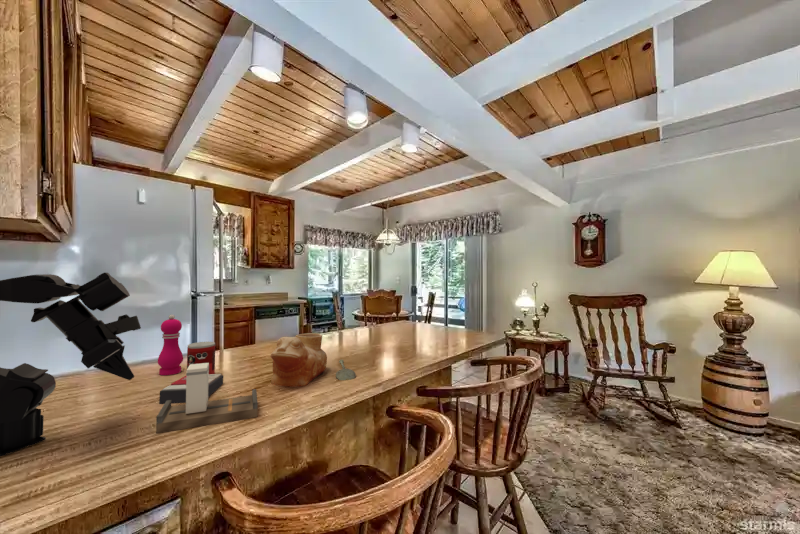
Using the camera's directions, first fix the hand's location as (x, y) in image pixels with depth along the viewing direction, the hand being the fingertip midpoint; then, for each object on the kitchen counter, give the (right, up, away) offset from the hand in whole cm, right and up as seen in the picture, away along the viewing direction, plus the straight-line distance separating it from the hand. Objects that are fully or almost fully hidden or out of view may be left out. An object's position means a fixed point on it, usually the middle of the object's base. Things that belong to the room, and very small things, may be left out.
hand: (132, 378), depth 74 cm
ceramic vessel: (+27, -12, +35) cm, 46 cm away
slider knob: (+12, -9, +4) cm, 15 cm away
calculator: (+1, -12, +21) cm, 24 cm away
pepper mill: (-19, -11, +39) cm, 45 cm away
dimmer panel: (+15, -11, +5) cm, 19 cm away
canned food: (-5, -12, +35) cm, 37 cm away
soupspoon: (+40, -13, +43) cm, 61 cm away
